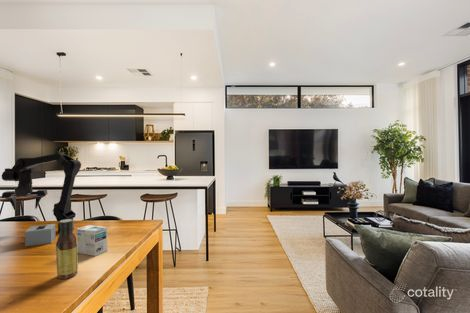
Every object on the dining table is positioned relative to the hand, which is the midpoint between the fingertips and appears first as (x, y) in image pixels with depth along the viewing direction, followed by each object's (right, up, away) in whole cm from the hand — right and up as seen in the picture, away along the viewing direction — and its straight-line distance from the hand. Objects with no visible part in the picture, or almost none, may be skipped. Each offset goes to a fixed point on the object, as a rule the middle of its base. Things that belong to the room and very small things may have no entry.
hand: (25, 209), depth 142 cm
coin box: (+20, -13, -16) cm, 29 cm away
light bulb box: (+52, -13, -29) cm, 61 cm away
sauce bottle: (+55, -14, -50) cm, 76 cm away
